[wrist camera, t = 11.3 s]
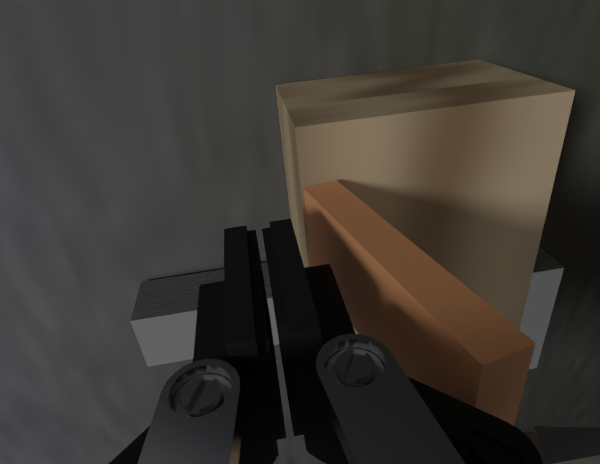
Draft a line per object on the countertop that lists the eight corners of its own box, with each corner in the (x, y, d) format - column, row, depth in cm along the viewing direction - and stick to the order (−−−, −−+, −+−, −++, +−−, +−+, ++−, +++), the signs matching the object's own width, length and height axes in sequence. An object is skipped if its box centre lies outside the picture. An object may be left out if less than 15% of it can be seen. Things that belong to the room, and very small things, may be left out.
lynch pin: (489, 203, 20) (564, 267, 16) (475, 291, 23) (536, 367, 18) (132, 257, 19) (104, 345, 14) (163, 344, 21) (146, 440, 17)
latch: (535, 343, 7) (482, 365, 6) (506, 452, 8) (462, 473, 8) (336, 180, 12) (303, 188, 12) (340, 261, 14) (311, 269, 13)
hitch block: (479, 59, 17) (575, 90, 12) (442, 376, 26) (488, 461, 21) (275, 84, 16) (295, 127, 12) (311, 400, 25) (330, 493, 21)
